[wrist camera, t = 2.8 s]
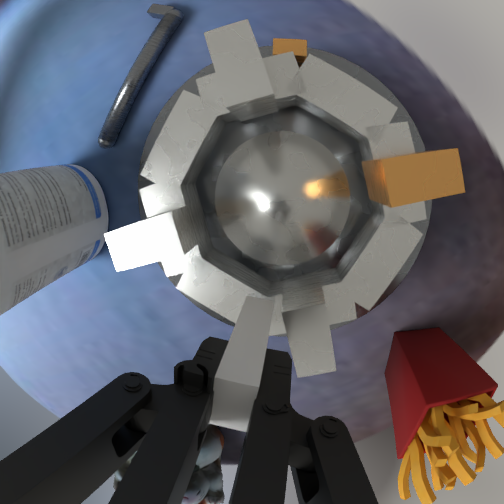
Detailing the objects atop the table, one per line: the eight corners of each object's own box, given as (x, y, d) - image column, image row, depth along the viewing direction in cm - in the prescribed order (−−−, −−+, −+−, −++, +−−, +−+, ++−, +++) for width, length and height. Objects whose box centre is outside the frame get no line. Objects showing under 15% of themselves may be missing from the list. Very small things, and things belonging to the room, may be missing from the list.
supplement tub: (48, 164, 22) (-72, 183, 8) (115, 164, 21) (-38, 182, 7) (49, 254, 25) (-54, 306, 11) (114, 271, 24) (-5, 354, 10)
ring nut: (132, 236, 19) (79, 262, 13) (237, 38, 14) (213, -10, 8) (317, 346, 19) (322, 405, 14) (442, 163, 14) (497, 164, 9)
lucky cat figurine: (242, 421, 27) (241, 531, 17) (217, 433, 35) (214, 515, 25) (106, 396, 23) (92, 512, 14) (116, 414, 31) (106, 498, 22)
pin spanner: (115, 151, 21) (104, 151, 19) (90, 138, 21) (79, 138, 19) (189, 15, 17) (182, 7, 15) (159, 10, 17) (151, 2, 15)
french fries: (386, 323, 22) (449, 469, 7) (461, 315, 20) (545, 422, 6) (369, 395, 24) (394, 523, 10) (437, 385, 23) (483, 492, 8)
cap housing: (123, 236, 23) (80, 257, 17) (235, 26, 16) (216, -14, 11) (321, 353, 23) (325, 401, 17) (453, 158, 17) (498, 159, 11)
